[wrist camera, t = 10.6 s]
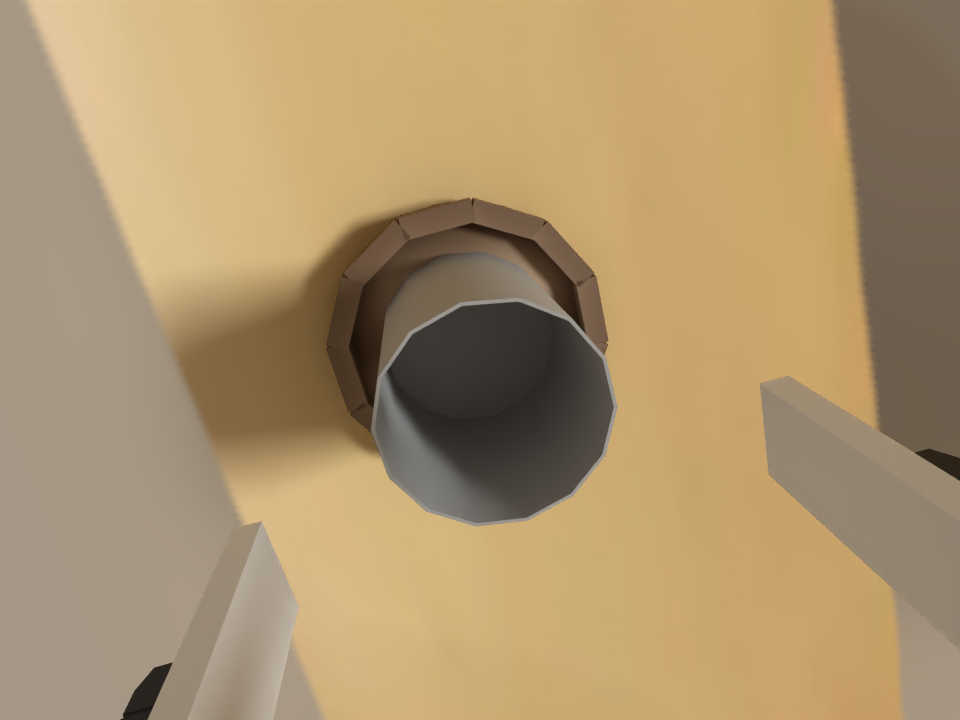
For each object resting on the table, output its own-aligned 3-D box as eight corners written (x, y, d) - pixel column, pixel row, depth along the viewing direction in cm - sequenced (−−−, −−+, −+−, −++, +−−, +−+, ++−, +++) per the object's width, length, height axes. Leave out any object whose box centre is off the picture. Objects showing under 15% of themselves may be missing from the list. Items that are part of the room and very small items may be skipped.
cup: (486, 444, 33) (519, 562, 23) (349, 361, 31) (324, 455, 21) (585, 312, 31) (663, 382, 22) (448, 215, 29) (468, 246, 20)
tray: (297, 241, 29) (290, 247, 28) (566, 170, 30) (576, 171, 28) (379, 479, 34) (378, 497, 32) (613, 414, 34) (624, 428, 32)
